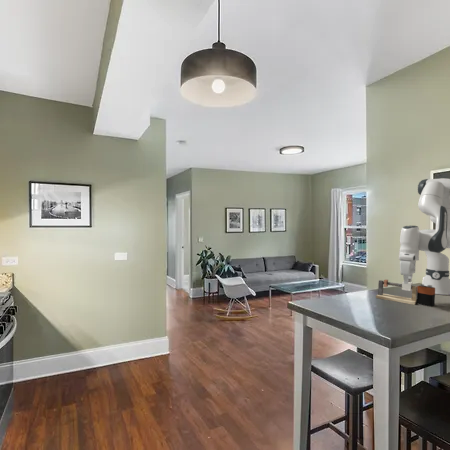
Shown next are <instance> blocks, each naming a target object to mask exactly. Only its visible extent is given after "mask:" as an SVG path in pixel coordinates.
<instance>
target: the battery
mask: <svg viewBox="0 0 450 450" xmlns="http://www.w3.org/2000/svg"><path fill="white" fill-rule="evenodd" d="M416 287H417V303H416V304H418V305H422V306H427V307H428V306H429V307H434V306H435V301H436V300H435V299H436V294H435V288H434V287H432V286H431V285H427V286H424V285H423V284H422V283H421V284H420V285H417V286H416Z"/></svg>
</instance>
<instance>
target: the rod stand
mask: <svg viewBox="0 0 450 450" xmlns="http://www.w3.org/2000/svg"><path fill="white" fill-rule="evenodd" d="M388 286H393V287H394V286H395V287H400V288H402V283H397V282H391V281H390V282H389V279H384V280H383V279H381V280H380V279H379V280H378V286H377V287H378V288H377V294H376V295H375V299H379V300H385V301H389V302H390V301H391V302H396V303H402V304H403V303H404V304H408V305H412V306H413V305H414V306H415V305H416V304H418V303H417V286H416V285H413V284H412V285H411V288H412V291H411V297H408V296H400V295H393V294H388V293H384V288H387V287H388Z"/></svg>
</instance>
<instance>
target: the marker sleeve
mask: <svg viewBox="0 0 450 450" xmlns="http://www.w3.org/2000/svg"><path fill="white" fill-rule="evenodd" d="M401 284H402V287H401V290H402V291H408V292H412V288H411V285H412V286H413V282H408V284H404V281H402V282H401Z"/></svg>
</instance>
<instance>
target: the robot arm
mask: <svg viewBox="0 0 450 450" xmlns="http://www.w3.org/2000/svg"><path fill="white" fill-rule="evenodd" d="M417 194H418V195H419V199H418V203H417V207H418V209H419V210H420V211H421V213H423V214H425V215H426V216H429V219H430V221H431V222H432V223H433V224H435V229H433V228H432V229H430V228H428V229H427V228H426V229H425V228H424V229H419V226H417V225H404V226H402V227H401V230H400V234H399V235H400V236H399V244H400V246H399V253H398V260H399V271H400V275H402V276H403V282H404V284H408V282H412V281H413V274H415V273H416V263H417V262H416V261H420V259H419V258H420V256H419V255H420V251H421V252H424V253H425V255H426V269H425V276H423V277H422V281H421V282H422V283H421V284H423V285H424V286H427V285H431V286H432V287H434V288H435V295H444V296H450V268H449V267H450V266H449V265H450V264H449V263H450V259H449V257H448V256H447V255H446V254H445V253H442V252H444V251H445V250H446V249H450V178H443V177H441V178H425V179H421V180H420V181H419V182H418V185H417ZM412 283H413V282H412Z"/></svg>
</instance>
